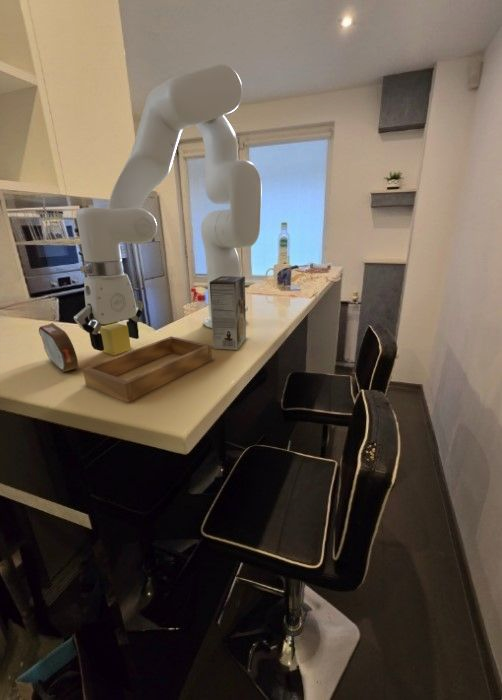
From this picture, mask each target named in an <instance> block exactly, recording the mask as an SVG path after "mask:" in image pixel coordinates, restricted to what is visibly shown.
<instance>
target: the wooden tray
mask: <svg viewBox="0 0 502 700" xmlns="http://www.w3.org/2000/svg"><path fill="white" fill-rule="evenodd" d="M172 353H175V354H178V355H181V356H179V357H177V358H174V359H172V360H170V361H167V362H165V363H163V364H160V365H158V366H156V367H154V368H151V369H150V370H148V371H145V372H143V373H140V374H138V375H136V376H134V377H132V378H129V379H127V380H126V379H123V378H120V377H118V376H119V375H121V374H124V373H126V372H129V371H131V370H133V369H136V368H138V367H140V366H142V365H146V364H148V363H150V362H152V361H155V360H158V359H160V358H162V357H164V356H167V355H169V354H172ZM212 360H213V357H212V345H211V344H207V343H202V342H199V341H195V340H189V339H184V338H180V337H177V336H173V335H172V336H168V337H166V338H163V339H160V340H157V341H155V342H151V343H149V344H146V345H144V346H141V347H138V348H135V349H133V350H129V351H126V352H123V353H121V354H118V355H115V356H114V357H110V358H108V359H105V360H103V361H100V362H97V363H94V364H92V365H89V366H86V367H83V368H82V373H83V378H84V381H85V386H86V387H88V388H91V389H93V390H95V391H97V392H101V393H103V394H106V395H108V396H110V397H112V398H116V399H117V400H121V401H122V402H125V403H129V404H130V403H131V402H133V401H135V400H137V399H139V398H141V397H142V396H145V395H147V394H148V393H150V392H153V391H155V390H156V389H158V388H160V387H162V386H164V385H166V384H167V383H170V382H172V381H174V380H176V379H178V378H180V377H182V376H184V375H185V374H188V373H189V372H191V371H193V370H195V369H198V368H199V367H201V366H203V365H205V364H207V363H209V362H211V361H212Z"/></svg>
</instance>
